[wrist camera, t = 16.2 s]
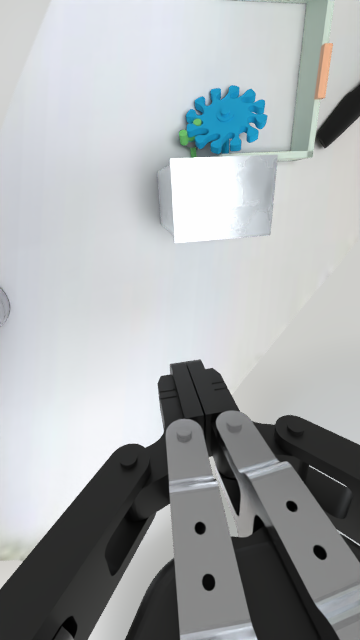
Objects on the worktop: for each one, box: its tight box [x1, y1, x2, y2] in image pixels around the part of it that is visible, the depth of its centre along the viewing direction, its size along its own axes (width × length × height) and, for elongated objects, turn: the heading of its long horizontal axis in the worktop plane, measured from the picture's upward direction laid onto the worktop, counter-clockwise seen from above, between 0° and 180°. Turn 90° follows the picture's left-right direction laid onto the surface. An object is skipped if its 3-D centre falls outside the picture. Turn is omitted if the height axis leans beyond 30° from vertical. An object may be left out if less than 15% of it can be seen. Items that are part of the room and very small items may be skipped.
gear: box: [179, 85, 267, 158], centre depth 36 cm, size 11×6×10 cm
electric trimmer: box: [317, 86, 360, 148], centre depth 38 cm, size 4×16×3 cm, turn 136°
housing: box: [157, 155, 278, 243], centre depth 34 cm, size 11×8×15 cm
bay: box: [215, 0, 335, 161], centre depth 34 cm, size 13×18×5 cm
